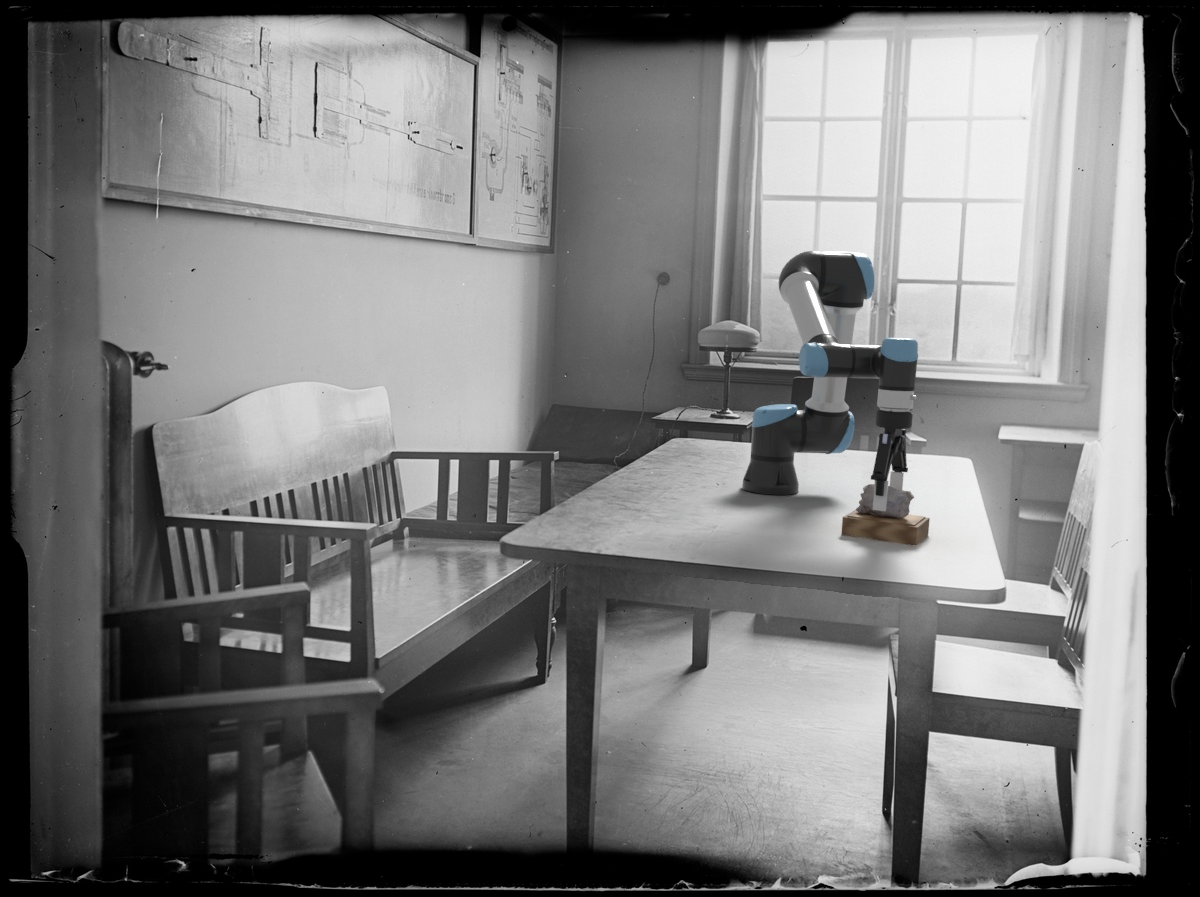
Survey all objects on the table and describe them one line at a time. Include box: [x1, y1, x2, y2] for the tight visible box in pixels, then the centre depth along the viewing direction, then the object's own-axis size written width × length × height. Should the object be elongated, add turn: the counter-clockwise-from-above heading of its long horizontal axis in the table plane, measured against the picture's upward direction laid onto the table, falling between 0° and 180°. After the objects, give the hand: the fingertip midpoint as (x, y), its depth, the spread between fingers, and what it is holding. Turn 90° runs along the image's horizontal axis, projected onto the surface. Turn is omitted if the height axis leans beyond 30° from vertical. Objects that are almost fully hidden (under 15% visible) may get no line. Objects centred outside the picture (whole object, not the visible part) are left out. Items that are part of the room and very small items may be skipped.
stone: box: [855, 483, 915, 518], centre depth 211 cm, size 8×12×7 cm, turn 56°
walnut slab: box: [841, 509, 931, 547], centre depth 212 cm, size 16×12×4 cm
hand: (887, 505), depth 211 cm, fingers open, 13 cm apart
